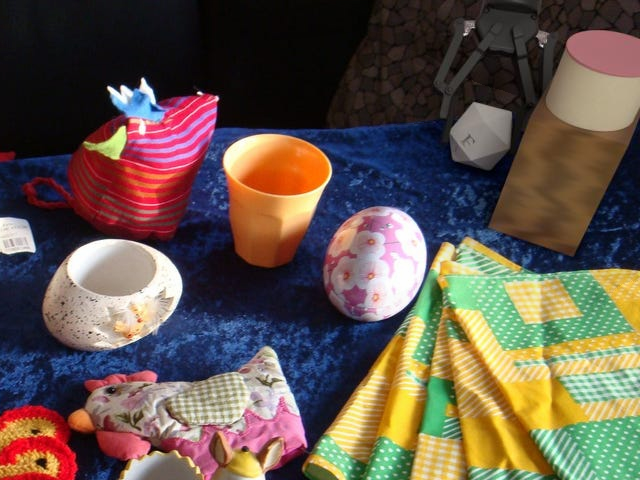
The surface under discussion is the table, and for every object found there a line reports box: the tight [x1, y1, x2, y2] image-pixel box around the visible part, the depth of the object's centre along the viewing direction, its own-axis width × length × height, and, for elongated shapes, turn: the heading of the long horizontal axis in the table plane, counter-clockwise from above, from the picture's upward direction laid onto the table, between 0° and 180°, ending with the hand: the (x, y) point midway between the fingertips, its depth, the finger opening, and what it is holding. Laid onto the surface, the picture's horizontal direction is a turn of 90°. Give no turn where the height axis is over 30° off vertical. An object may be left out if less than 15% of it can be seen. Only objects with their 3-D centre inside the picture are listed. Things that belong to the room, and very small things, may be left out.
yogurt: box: [546, 29, 640, 131], centre depth 97 cm, size 10×10×7 cm
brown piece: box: [487, 75, 640, 257], centre depth 105 cm, size 11×11×17 cm
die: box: [449, 101, 513, 171], centre depth 118 cm, size 8×9×10 cm
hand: (476, 150), depth 116 cm, fingers closed on die, 8 cm apart
